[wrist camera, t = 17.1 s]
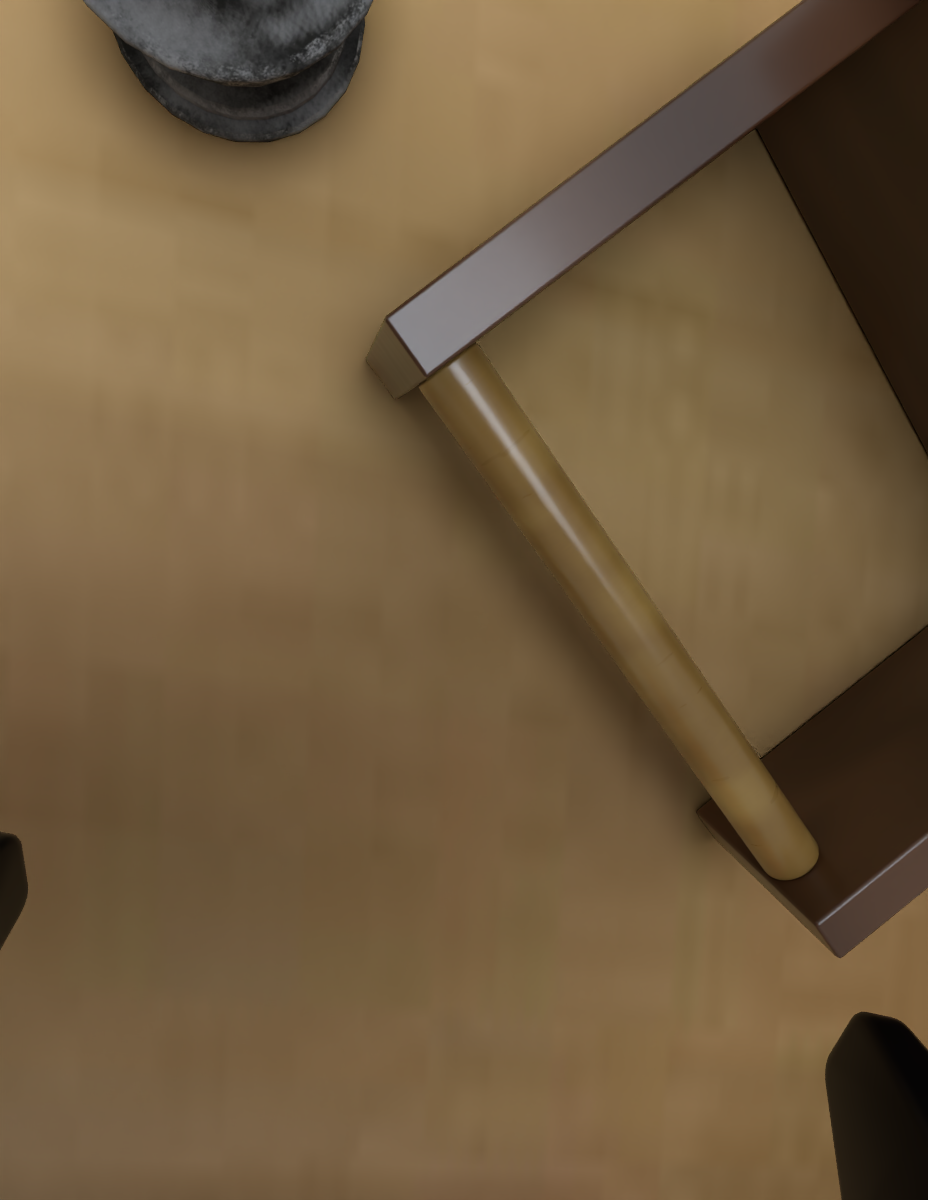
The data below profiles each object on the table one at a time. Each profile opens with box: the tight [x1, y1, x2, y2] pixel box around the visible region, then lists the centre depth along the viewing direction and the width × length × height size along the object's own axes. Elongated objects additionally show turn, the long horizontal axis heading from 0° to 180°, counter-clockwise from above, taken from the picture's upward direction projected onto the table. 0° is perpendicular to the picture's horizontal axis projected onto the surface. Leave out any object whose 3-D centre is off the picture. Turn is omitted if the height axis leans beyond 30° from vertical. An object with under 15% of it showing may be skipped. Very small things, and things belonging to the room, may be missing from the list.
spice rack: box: [366, 0, 928, 958], centre depth 15 cm, size 12×16×10 cm
